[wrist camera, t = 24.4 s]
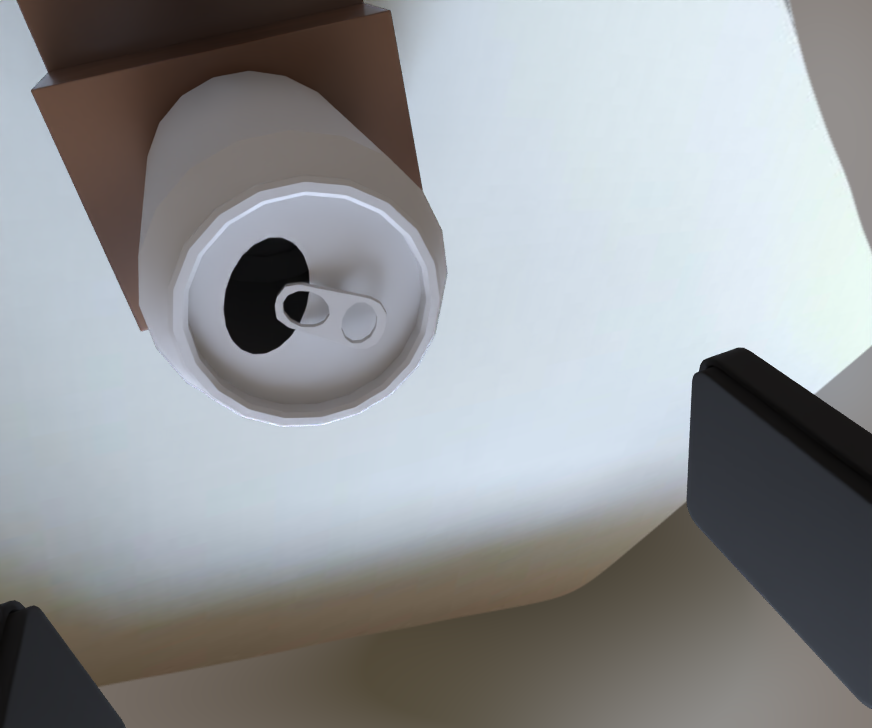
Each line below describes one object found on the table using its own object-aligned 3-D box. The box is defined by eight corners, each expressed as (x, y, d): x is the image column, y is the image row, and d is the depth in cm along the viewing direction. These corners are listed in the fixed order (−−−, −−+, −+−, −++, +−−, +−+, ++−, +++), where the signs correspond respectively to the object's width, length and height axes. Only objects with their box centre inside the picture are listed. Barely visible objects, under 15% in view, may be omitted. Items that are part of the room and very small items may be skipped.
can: (166, 35, 23) (166, 99, 13) (382, 104, 26) (516, 198, 16) (131, 252, 26) (109, 439, 16) (329, 290, 29) (415, 465, 19)
